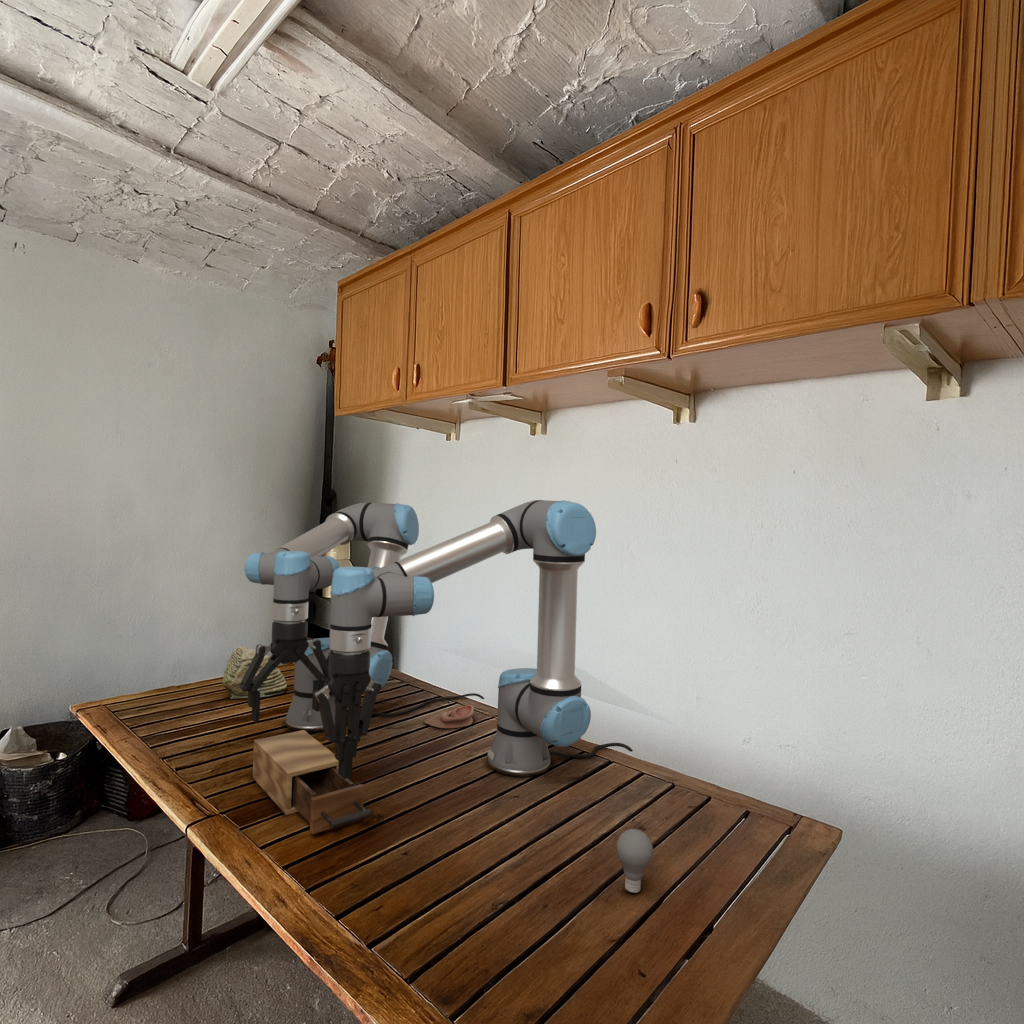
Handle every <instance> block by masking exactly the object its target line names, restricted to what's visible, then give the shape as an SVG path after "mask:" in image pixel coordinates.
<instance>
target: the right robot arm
mask: <svg viewBox="0 0 1024 1024" xmlns="http://www.w3.org/2000/svg"><path fill="white" fill-rule="evenodd" d="M596 538H597V527H596V521H595V518H594V517H593V515H592V513H591V512H590V511H589V510H588V509H587V508H586V507H585V506H584V505H582V504H580V503H578V502H574V501H570V500H547V499H546V500H544V499H534V500H530V501H527V502H523V503H522V504H518V505H516V506H514V507H512V508H510V509H507V510H505V511H503V512H501V513H498V514H496V515H493V516H492V517H491V518H490V520H489V522H488V523H485V524H483V525H481V526H478V527H476V528H473V529H470V530H469V531H466V532H464V533H461V534H459V535H456V536H454V537H451V538H449V539H447V540H444V541H442V542H440V543H437V544H435V545H432V546H430V547H428V548H425V549H422V550H420V551H418V552H416V553H415V552H414V553H413V554H411V555H409V556H406V557H403V558H400V560H399V561H396V562H394V563H391V564H389V565H386V566H384V567H372V568H368V566H367V567H365V566H340V568H337V569H336V570H335V571H334V573H333V578H332V585H331V586H330V587H331V589H330V624H329V625H330V626H329V637H328V638H329V648H330V649H331V650H332V651H331V652H330V653H329V664H328V672H329V676H328V679H327V680H326V686H324V687H323V688H322V689H321V690H320V691H318V690H316V691H314V693H313V696H314V697H315V699H316V700H317V702H318V704H319V709H320V714H321V719H322V724H323V728H324V731H323V733H324V737H325V739H326V740H327V741H329V742H330V743H331V744H334V754H335V758H336V759H337V760H338V761H339V765H338V774H339V775H340V776H341V777H342V778H344V779H347V778H348V779H350V778H353V760H354V759H353V758H356V757H357V755H358V743H359V742H360V741H361V738H362V737H366V736H367V735H368V733H369V728H370V725H371V721H372V717H373V715H372V713H374V709H375V704H376V700H377V697H378V695H379V693H380V691H381V690H382V689H383V688H382V686H381V684H379V683H377V682H375V681H372V680H371V676H370V674H369V669H370V652H369V650H368V649H369V648H370V646H371V627H372V624H371V621H372V617H387V616H388V617H403V616H404V617H405V616H407V617H409V616H412V617H415V616H419V615H426V614H428V613H429V612H430V611H431V610H432V608H433V606H434V603H435V590H434V589H435V588H434V585H433V583H436V582H439V581H441V580H443V579H445V578H447V577H450V576H452V575H454V574H457V573H459V572H460V571H463V570H466V569H468V568H470V567H472V566H475V565H476V564H479V563H481V562H484V561H486V560H488V559H491V558H492V557H495V556H497V555H499V554H502V553H503V554H505V555H509V554H512V553H514V552H517V551H520V550H531V549H532V561H533V562H534V563H535V565H536V566H538V570H539V575H538V578H539V579H538V581H539V582H538V614H537V615H538V616H537V647H536V648H537V649H536V653H537V654H536V668H534V667H533V668H531V667H522V668H521V667H520V668H510V669H507V670H504V671H502V672H501V673H500V674H499V678H498V684H497V688H498V689H497V690H498V693H497V717H496V719H497V721H496V732H495V735H494V737H493V741H492V743H491V746H490V748H489V749H488V752H487V765H488V766H489V767H490V769H492V770H494V771H495V772H497V773H499V774H502V775H505V776H506V775H507V776H510V777H521V778H522V777H525V778H526V777H534V776H539V775H541V774H544V773H546V772H548V771H549V769H550V767H551V756H556V757H557V756H558V757H563V758H572V759H587V758H591V757H593V756H594V755H595V754H596V752H597V750H600V749H605V748H610V747H611V748H612V747H619V748H624V749H625V750H627V751H628V752H633V751H634V750H633V749H632V748H631V747H630V746H629V745H627V744H625V743H623V742H609V743H603V744H598V745H595V746H594V747H593V748H592V749H591V752H589V753H585V754H581V753H580V754H579V753H578V754H577V753H565V752H560V751H553V750H549V746H548V744H551V745H553V746H555V747H558V748H566V747H570V746H572V745H575V744H576V743H577V742H579V741H580V740H581V738H582V737H583V736H584V735H585V734H586V732H587V731H588V729H589V726H590V723H591V719H592V711H591V708H590V705H589V704H588V703H587V701H586V699H585V698H582V681H581V680H580V678H579V677H578V676H577V675H576V651H577V650H576V646H577V615H578V614H577V610H578V573H579V569H580V567H582V566H583V565H584V564H585V563H586V554H587V553H588V552H590V551H591V547H592V546H594V544H595V541H596ZM381 688H382V689H381ZM365 689H366V692H365V693H363V692H364V691H365ZM329 692H331V694H332V695H333V696H334V698H335V727H334V722H333V717H332V712H331V707H330V703H329V701H328V699H329ZM363 694H364V695H363ZM362 695H363V699H362ZM347 712H348V715H347Z"/></svg>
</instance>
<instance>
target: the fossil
mask: <svg viewBox="0 0 1024 1024" xmlns="http://www.w3.org/2000/svg"><path fill="white" fill-rule="evenodd" d="M255 652H256V648H251V647H247V646H246V647H245V646H238V647H237V648H236V649H235V650H233V651H232V653H231V656H230V657H229V659H228V660H227V663H226V666H225V668H224V671H223V675H222V676H223V677H222V685H223V687H224V688H225V690H226V691H228V693H229V698H230V699H248V691H243V690H242V689H241V688H240V687H239V685H240V683H241V681H242V679H243V677H244V675H245V673H246V671H247V669H248V667H249V665H250V663H251V662H252V660H253V658H254V656H255ZM269 658H270V656H269V655H268V654H267V655H266V656H264V659H263V661H262V663H261V665H260V667H259V669H258V671H257V673H256V675H255V677H256V676H257V675H258V673H259V672H260V671H261V670H262V668H263V667H264V666H265V665H266V663H267V662H268V660H269ZM255 677H254V678H255ZM287 687H288V686H287V680H286V678H285V676H284V674H283V673H282V672H281V669H279V668H278V667H276V668H275V669H274V670H273V671H272V672H271V674H270V675H269V676H268V677H267V679H266V680H265V681H264V682H263V684H262V685H261V686H260V687H259V689H258V691H259V692H260V698H264V697H271V696H275V695H281V694H284V693H285V691H286V689H287Z"/></svg>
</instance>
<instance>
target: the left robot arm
mask: <svg viewBox="0 0 1024 1024" xmlns="http://www.w3.org/2000/svg"><path fill="white" fill-rule="evenodd" d="M419 533H420V525H419V518H418V515H417V512H416V510H415V509H414V507H412V506H411V505H409V504H404V503H403V504H402V503H398V502H397V503H385V502H383V503H382V502H367V501H366V502H359V503H355V504H352V505H349V506H347V507H344V508H341V509H339V510H337V511H335V512H333V513H330V514H329V515H328V516H327V517H326V518H325V521H324V522H323V523H321V524H319V525H317V526H315V527H314V528H311V529H310V530H308V531H306V532H304V533H303V534H300V535H299V536H297V537H296V538H294V539H292V540H290V541H288V542H286V543H285V544H283V545H281V546H279V547H277V548H276V549H273V550H272V551H270V552H264V551H261V552H253V553H251V554H250V555H249V556H248V557H247V559H246V561H245V564H244V574H245V577H246V580H248V581H249V582H251V583H254V584H260V585H263V586H265V585H268V586H273V598H272V616H271V619H272V620H273V622H271V642H270V644H269V645H263V644H261V643H259V644H256V646H255V649H256V652H255V656H254V658H253V660H252V662H251V663H250V665H249V667H248V669H247V671H246V673H245V675H244V677H243V679H242V681H241V683H240V685H239V687H240V688H241V689H242V690H243V691H248V698H247V705H248V707H250V708H251V720H252V721H253V723H255V724H257V723H258V724H259V723H260V716H261V715H260V713H261V709H260V708H261V697H260V692H259V691H258V689H259V687H260V686H261V685H262V684H263V682H264V681H265V680H266V679H267V677H268V676H269V675H270V674H271V672H272V671H273V670H274V669H275V668H278V666H280V664H282V665H287V664H290V663H294V672H293V695H292V696H293V697H292V699H291V702H290V704H289V708H288V711H287V713H286V715H285V726H286V728H287V729H289V730H291V731H294V732H297V731H302V730H305V731H306V732H307V733H316V732H324V728H323V724H322V719H321V714H320V709H319V704H318V702H317V700H316V699H315V697H314V696H313V693H314V691H316V690H318V691H320V690H321V689H322V688H323V687H324V686H326V680H327V679H328V676H329V672H328V664H329V653H330V652H331V651H332V650H331V649H330V648H329V638H330V637H320V638H319V637H318V638H315V637H313V638H312V639H308V627H309V626H308V625H309V623H308V621H307V619H309V597H310V596H309V595H310V591H315V590H319V589H326V588H329V587H332V578H333V573H334V571H335V570H336V569H337V568H340V567H341V566H340V565H341V564H340V563H339V561H338V559H336V558H334V557H332V556H329V555H325V554H327V553H328V552H330V551H332V550H334V549H335V548H336V547H338V546H345V545H347V544H349V543H351V542H367V547H368V548H369V549H370V554H369V560H368V564H367V568H372V567H384V566H386V565H389V564H391V563H394V562H396V561H399V560H401V559H402V558H401V557H402V556H404V555H405V554H407V553H408V551H409V550H408V549H409V546H412V545H415V544H416V543H417V541H418V539H419ZM388 620H389V616H387V617H372V621H371V624H372V627H371V646H370V648H369V649H368V650H369V652H370V669H369V674H370V676H371V680H372V681H375V682H377V683H379V684H381V686H382V688H381V690H382V689H383V688H384V687H385V685H386V684H387V682H388V681H389V678H390V676H391V673H392V669H393V664H394V663H393V655H392V653H391V652H390V651H389V650H388V647H389V644H388V643H387V641H386V640H385V634H386V630H387V625H388ZM269 652H270V653H271V655H270V656H269V660H268V662H267V663H266V665H265V666H264V667H263V668H262V670H261V671H260V672H259V673H258V675H257V676H256V677H255V675H256V673H257V671H258V669H259V667H260V665H261V663H262V661H263V659H264V656H266V655H268V653H269ZM254 677H255V678H254ZM365 692H366V689H365V691H364V692H363V694H365ZM471 696H473V697H478V698H480V699H481V700H485V697H484V696H483V695H481V694H479V693H476V692H475V693H474V692H473V693H465V694H460V695H453V696H452V695H451V696H442V697H437V698H432V699H429V700H426V701H424V702H421V703H420V704H418V705H415V706H413V707H410V708H408V709H405V710H400V711H397V712H373V713H372V716H379V717H381V716H382V717H390V716H399V715H403V714H407V713H410V712H412V711H414V710H416V709H419V708H422V707H423V706H425V705H428V704H430V703H433V702H437V701H444V700H453V699H462V698H465V697H471ZM328 701H329V703H330V707H331V712H332V717H333V722H334V727H335V698H334V696H333V695H332V694H331V692H329V699H328ZM347 716H348V711H347Z"/></svg>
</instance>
